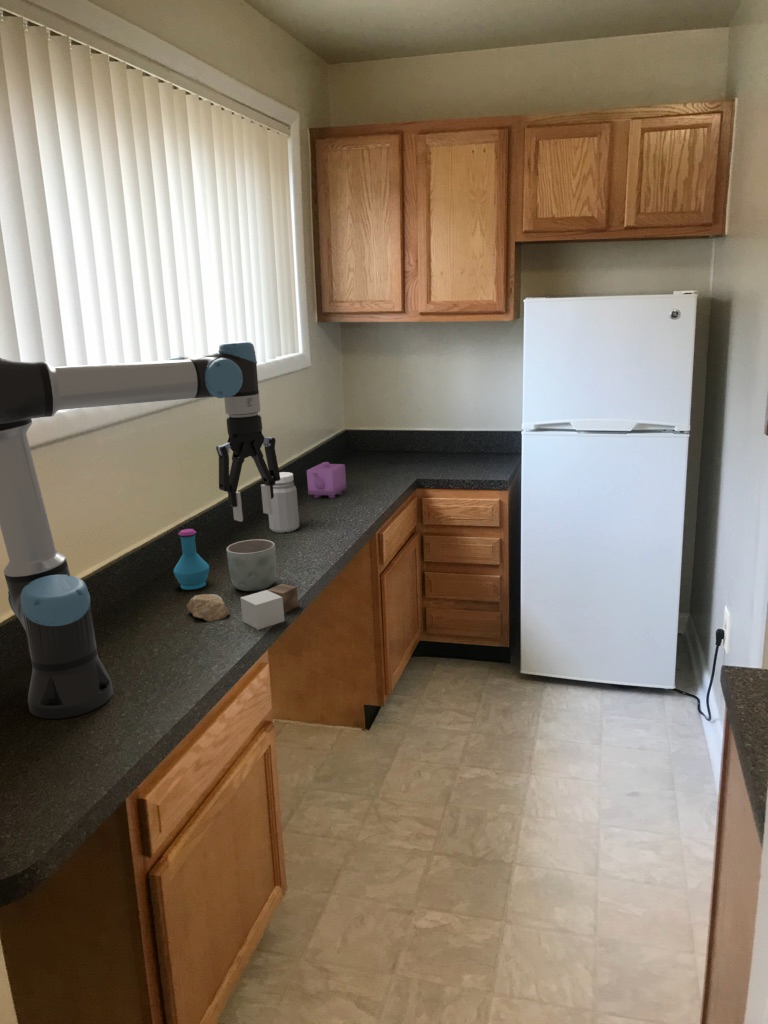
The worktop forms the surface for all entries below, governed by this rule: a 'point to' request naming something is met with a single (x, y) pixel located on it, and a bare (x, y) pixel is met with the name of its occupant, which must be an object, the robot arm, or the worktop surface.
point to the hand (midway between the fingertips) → (253, 516)
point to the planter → (252, 564)
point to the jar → (284, 505)
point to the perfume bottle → (190, 563)
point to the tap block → (262, 609)
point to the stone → (208, 607)
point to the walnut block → (286, 596)
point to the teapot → (326, 479)
